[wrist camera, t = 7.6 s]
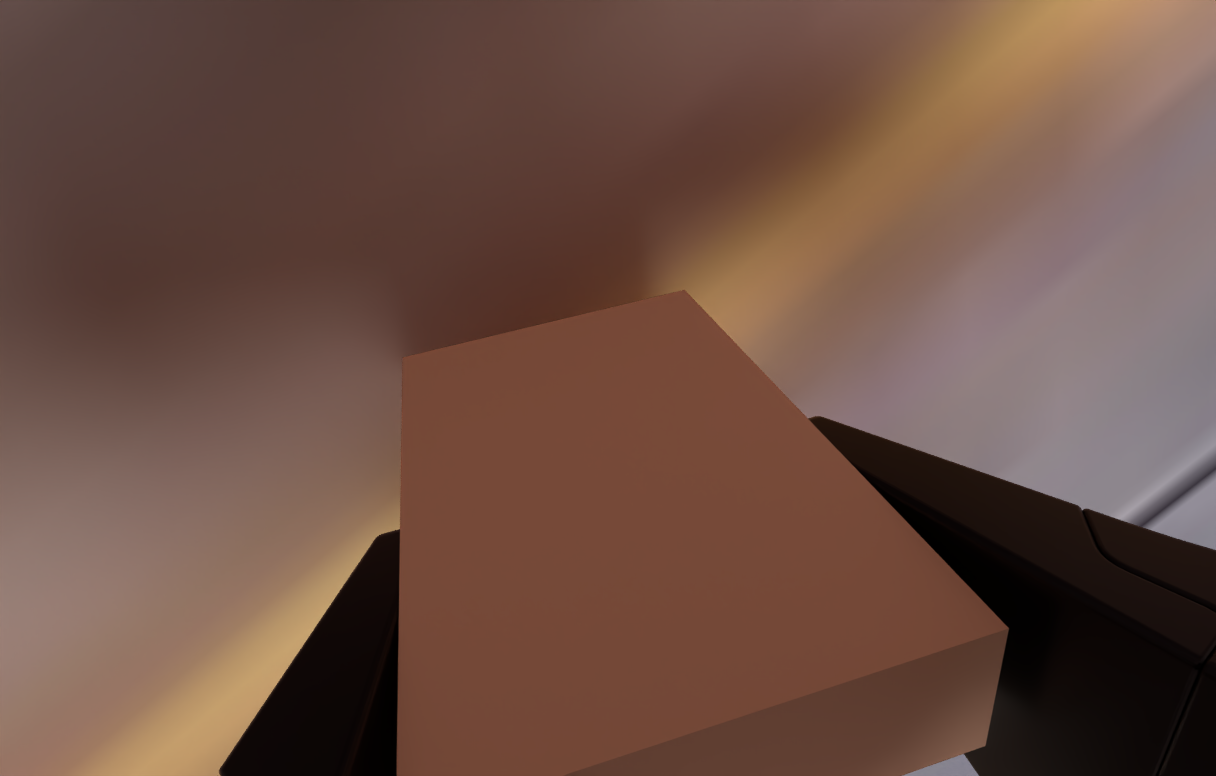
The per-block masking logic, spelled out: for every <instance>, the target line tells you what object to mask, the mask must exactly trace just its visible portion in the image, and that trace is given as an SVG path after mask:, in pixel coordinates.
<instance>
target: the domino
mask: <svg viewBox="0 0 1216 776" xmlns="http://www.w3.org/2000/svg"><path fill="white" fill-rule="evenodd" d="M1008 630H1009V628H1008V627H1007V626H1006V625H1005V624H1004V623H1003V622H1002V621H1001V620H1000V619H999V617H998V616H997V615H996V614H995V613H994V612H993V611H992V610H991V609H990V608H989V607H988V606H987V605H986V604H985V603H984V602H983V601H982V600H981V599H980V598H979V597H978V596H977V595H976V594H975V592H974V591H973V590H972V589H971V588H970V587H969V586H968V585H967V584H966V583H965V582H964V581H963V580H962V579H961V578H960V577H959V576H958V575H957V574H956V573H955V572H954V571H953V570H952V568H951V567H950V566H949V565H948V564H947V563H946V562H945V561H944V560H943V559H942V558H941V557H940V556H939V555H938V554H937V553H936V552H935V551H934V550H933V549H932V548H931V547H930V546H929V544H928V543H927V542H926V541H925V540H924V539H923V538H922V537H921V536H920V535H919V534H918V533H917V532H916V531H915V530H914V529H913V528H912V527H911V526H910V525H909V524H908V523H907V522H906V521H905V519H904V518H903V517H902V516H901V515H900V514H899V513H898V512H897V511H896V510H895V509H894V508H893V507H892V506H891V505H890V504H889V503H888V502H887V501H886V500H885V499H884V498H883V497H882V495H881V494H880V493H879V492H878V491H877V490H876V489H875V488H874V487H873V486H872V485H871V484H870V483H869V482H868V481H867V480H866V479H865V478H864V477H863V476H862V475H861V474H860V473H859V471H858V470H857V469H856V468H855V467H854V466H853V465H852V464H851V463H850V462H849V461H848V460H847V459H846V458H845V457H844V456H843V455H842V454H841V453H840V452H839V451H838V450H837V449H836V448H835V446H834V445H833V444H832V443H831V442H830V441H829V440H828V439H827V438H826V437H825V436H824V435H823V434H822V433H821V432H820V431H819V430H818V429H817V428H816V427H815V426H814V425H813V424H812V422H811V421H810V420H809V419H808V418H807V417H806V416H805V415H804V414H803V413H802V412H801V411H800V410H799V409H798V408H797V407H796V406H795V405H794V404H793V403H792V402H791V401H790V400H789V398H788V397H787V396H786V395H785V394H784V393H783V392H782V391H781V390H780V389H779V388H778V387H777V386H776V385H775V384H774V383H773V382H772V381H771V380H770V379H769V378H768V377H767V376H766V375H765V373H764V372H763V371H762V370H761V369H760V368H759V367H758V366H757V365H756V364H755V363H754V362H753V361H752V360H751V359H750V358H749V357H748V356H747V355H746V354H745V353H744V352H743V351H742V349H741V348H740V347H739V346H738V345H737V344H736V343H735V342H734V341H733V340H732V339H731V338H730V337H729V336H728V335H727V334H726V333H725V332H724V331H723V330H722V329H721V328H720V327H719V325H718V324H717V323H716V322H715V321H714V320H713V319H712V318H711V317H710V316H709V315H708V314H707V313H706V312H705V311H704V310H703V309H702V308H701V307H700V306H699V305H698V304H697V303H696V302H695V300H694V299H693V298H692V297H691V296H690V295H689V294H688V293H687V292H686V291H685V290H682V291H678V292H673V293H669V294H665V295H661V296H657V297H653V298H648V299H644V300H640V301H636V302H632V303H627V304H623V305H619V306H615V307H611V308H607V309H602V310H598V311H594V312H590V313H586V314H582V315H577V316H573V317H569V318H565V319H561V320H556V321H552V322H548V323H544V324H540V325H536V326H531V327H527V328H523V329H519V330H515V331H511V332H506V333H502V334H498V335H494V336H490V337H485V338H481V339H477V340H473V341H469V342H465V343H460V344H456V345H452V346H448V347H444V348H440V349H435V350H431V351H427V352H423V353H419V354H414V355H410V356H406V357H403V362H402V432H401V503H400V573H399V643H398V713H397V776H902V775H905V774H908V773H910V772H913V771H916V770H919V769H922V768H924V767H927V766H930V765H933V764H936V763H939V762H941V761H944V760H947V759H950V758H953V757H956V756H958V755H961V754H964V753H967V752H970V751H973V750H975V749H978V748H981V747H984V746H985V745H986V740H987V735H988V730H989V725H990V720H991V715H992V710H993V705H994V700H995V695H996V690H997V685H998V680H999V675H1000V670H1001V665H1002V660H1003V655H1004V650H1005V645H1006V640H1007V635H1008Z"/></svg>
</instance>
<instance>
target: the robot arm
mask: <svg viewBox="0 0 1216 776" xmlns="http://www.w3.org/2000/svg"><path fill="white" fill-rule="evenodd" d="M808 419H809V420H810V421H811V422H812V424H813V425H814V426H815V427H816V428H817V429H818V430H819V431H820V432H821V433H822V434H823V435H824V436H825V437H826V438H827V439H828V440H829V441H830V442H831V443H832V444H833V445H834V446H835V448H836V449H837V450H838V451H839V452H840V453H841V454H842V455H843V456H844V457H845V458H846V459H847V460H848V461H849V462H850V463H851V464H852V465H853V466H854V467H855V468H856V469H857V470H858V471H859V473H860V474H861V475H862V476H863V477H864V478H865V479H866V480H867V481H868V482H869V483H870V484H871V485H872V486H873V487H874V488H875V489H876V490H877V491H878V492H879V493H880V494H881V495H882V497H883V498H884V499H885V500H886V501H887V502H888V503H889V504H890V505H891V506H892V507H893V508H894V509H895V510H896V511H897V512H898V513H899V514H900V515H901V516H902V517H903V518H904V519H905V521H906V522H907V523H908V524H909V525H910V526H911V527H912V528H913V529H914V530H915V531H916V532H917V533H918V534H919V535H920V536H921V537H922V538H923V539H924V540H925V541H926V542H927V543H928V544H929V546H930V547H931V548H932V549H933V550H934V551H935V552H936V553H937V554H938V555H939V556H940V557H941V558H942V559H943V560H944V561H945V562H946V563H947V564H948V565H949V566H950V567H951V568H952V570H953V571H954V572H955V573H956V574H957V575H958V576H959V577H960V578H961V579H962V580H963V581H964V582H965V583H966V584H967V585H968V586H969V587H970V588H971V589H972V590H973V591H974V592H975V594H976V595H977V596H978V597H979V598H980V599H981V600H982V601H983V602H984V603H985V604H986V605H987V606H988V607H989V608H990V609H991V610H992V611H993V612H994V613H995V614H996V615H997V616H998V617H999V619H1000V620H1001V621H1002V622H1003V623H1004V624H1005V625H1006V626H1007V627H1008V628H1009V630H1008V635H1007V640H1006V645H1005V650H1004V655H1003V660H1002V665H1001V670H1000V675H999V680H998V685H997V690H996V695H995V700H994V705H993V710H992V715H991V720H990V725H989V730H988V735H987V740H986V745H985V746H984V747H981V748H978V749H975V750H973V751H970V752H967V753H964V755H965V756H966V758H967V759H968V761H969V762H970V763H971V765H972V766H973V768H974V769H975V771H976V772H977V773H978V775H979V776H1216V550H1213V549H1210V548H1207V547H1203V546H1200V545H1197V544H1193V543H1190V542H1186V541H1183V540H1180V539H1176V538H1173V537H1170V536H1167V535H1164V534H1161V533H1158V532H1155V531H1152V530H1149V529H1146V528H1143V527H1140V526H1137V525H1134V524H1131V523H1128V522H1124V521H1121V520H1119V519H1116V518H1113V517H1110V516H1107V515H1104V514H1101V513H1099V512H1096V511H1093V510H1090V509H1084V510H1081V508H1080V507H1079V506H1078V505H1075V504H1072V503H1069V502H1066V501H1064V500H1061V499H1058V498H1055V497H1052V496H1049V495H1046V494H1043V493H1040V492H1038V491H1035V490H1032V489H1029V488H1026V487H1023V486H1020V485H1017V484H1014V483H1012V482H1009V481H1006V480H1003V479H1000V478H997V477H994V476H991V475H989V474H986V473H983V472H980V471H977V470H974V469H971V468H968V467H965V466H963V465H960V464H957V463H954V462H951V461H948V460H945V459H942V458H939V457H937V456H934V455H931V454H928V453H925V452H922V451H919V450H916V449H914V448H911V447H908V446H905V445H902V444H899V443H896V442H893V441H890V440H888V439H885V438H882V437H879V436H876V435H873V434H870V433H867V432H864V431H862V430H859V429H856V428H853V427H850V426H847V425H844V424H841V423H839V422H836V421H833V420H830V419H827V418H824V417H820V416H815V417H812V418H808ZM399 573H400V529H398V530H395V531H391V532H387V533H384V534H381V535H379V536H377V537H376V539H375V540H374V541H373V543H372V544H371V546H370V547H369V549H368V550H367V552H366V553H365V555H364V556H363V558H362V559H361V561H360V562H359V563H358V565H357V566H356V568H355V569H354V571H353V572H352V574H351V575H350V577H349V578H348V580H347V581H346V583H345V584H344V586H343V587H342V589H341V590H340V592H339V593H338V595H337V596H336V598H335V599H334V601H333V602H332V603H331V605H330V606H329V608H328V609H327V611H326V612H325V614H324V615H323V617H322V618H321V620H320V621H319V623H318V624H317V626H316V627H315V629H314V630H313V632H312V633H311V635H310V636H309V638H308V639H307V641H306V642H305V643H304V645H303V646H302V648H301V649H300V651H299V652H298V654H297V655H296V657H295V658H294V660H293V661H292V663H291V664H290V666H289V667H288V669H287V670H286V672H285V673H284V675H283V676H282V678H281V679H280V681H279V682H278V683H277V685H276V686H275V688H274V689H273V691H272V692H271V694H270V695H269V697H268V698H267V700H266V701H265V703H264V704H263V706H262V707H261V709H260V710H259V712H258V713H257V715H256V716H255V718H254V719H253V721H252V722H251V723H250V725H249V726H248V728H247V729H246V731H245V732H244V734H243V735H242V737H241V738H240V740H239V741H238V743H237V744H236V746H235V747H234V749H233V750H232V752H231V753H230V755H229V756H228V758H227V759H226V761H225V762H224V763H223V765H222V766H221V768H220V770H219V774H220V776H397V713H398V643H399Z"/></svg>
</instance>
